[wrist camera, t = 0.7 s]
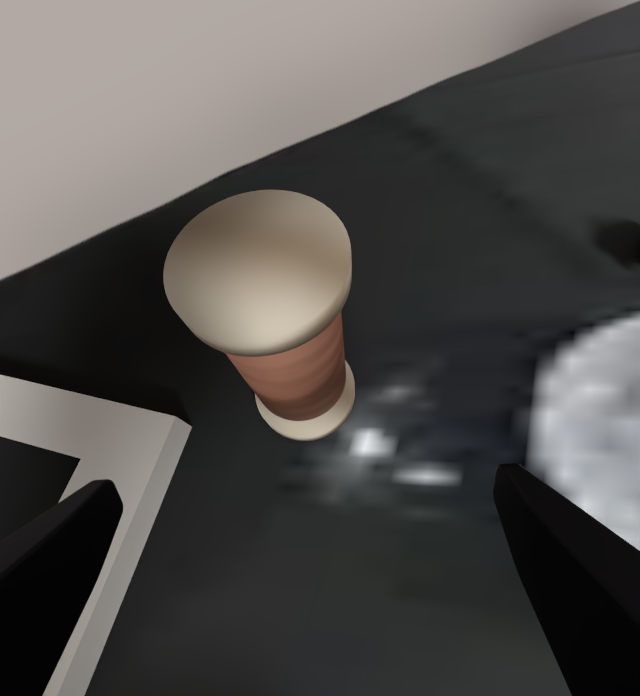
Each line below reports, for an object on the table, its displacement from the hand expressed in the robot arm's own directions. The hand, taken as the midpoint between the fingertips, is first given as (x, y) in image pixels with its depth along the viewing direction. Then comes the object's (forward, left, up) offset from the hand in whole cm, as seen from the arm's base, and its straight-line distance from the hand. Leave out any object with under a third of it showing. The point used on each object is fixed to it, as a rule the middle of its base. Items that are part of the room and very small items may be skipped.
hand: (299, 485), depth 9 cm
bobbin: (+7, +4, -15) cm, 17 cm away
